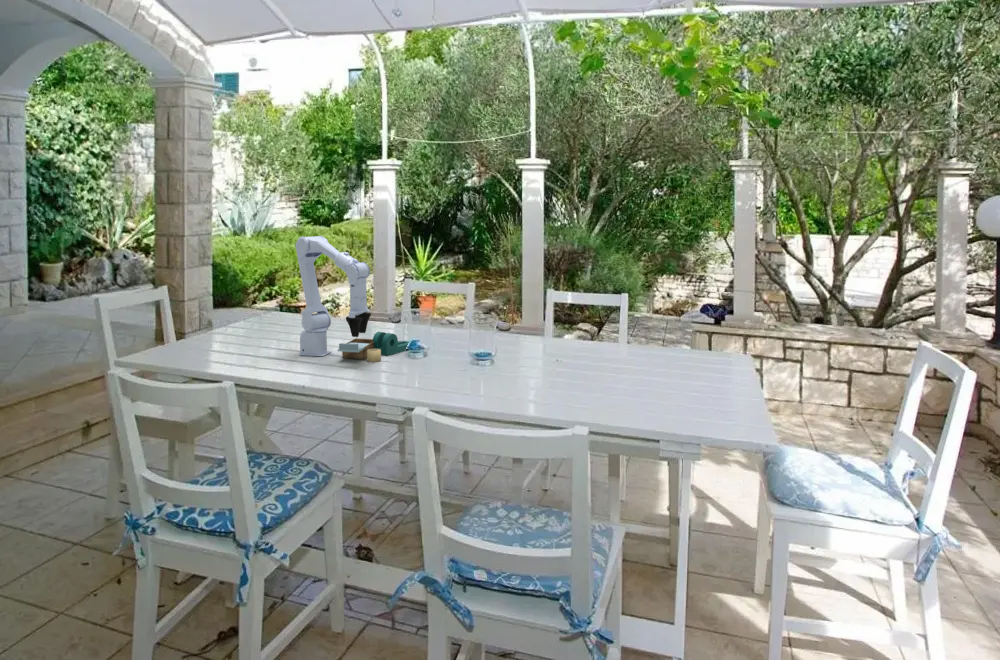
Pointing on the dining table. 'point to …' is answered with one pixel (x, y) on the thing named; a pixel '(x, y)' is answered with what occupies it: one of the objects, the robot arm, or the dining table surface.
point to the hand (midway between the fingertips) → (358, 334)
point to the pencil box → (362, 353)
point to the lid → (352, 347)
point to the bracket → (388, 343)
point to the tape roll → (373, 355)
